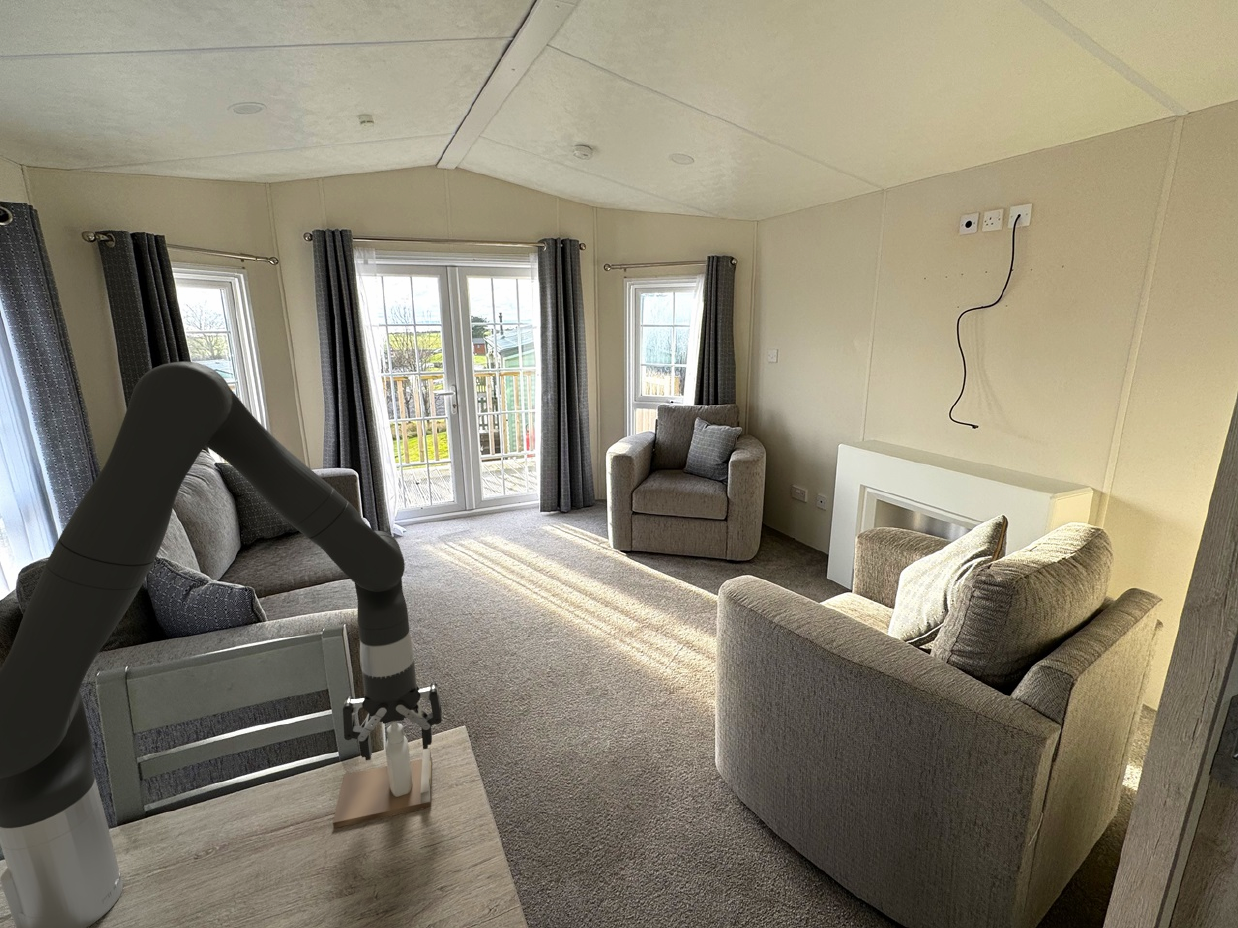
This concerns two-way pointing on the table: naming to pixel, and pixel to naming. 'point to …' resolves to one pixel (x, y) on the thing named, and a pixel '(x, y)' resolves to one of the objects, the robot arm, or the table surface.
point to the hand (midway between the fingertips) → (397, 751)
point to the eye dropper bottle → (398, 760)
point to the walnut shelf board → (382, 793)
